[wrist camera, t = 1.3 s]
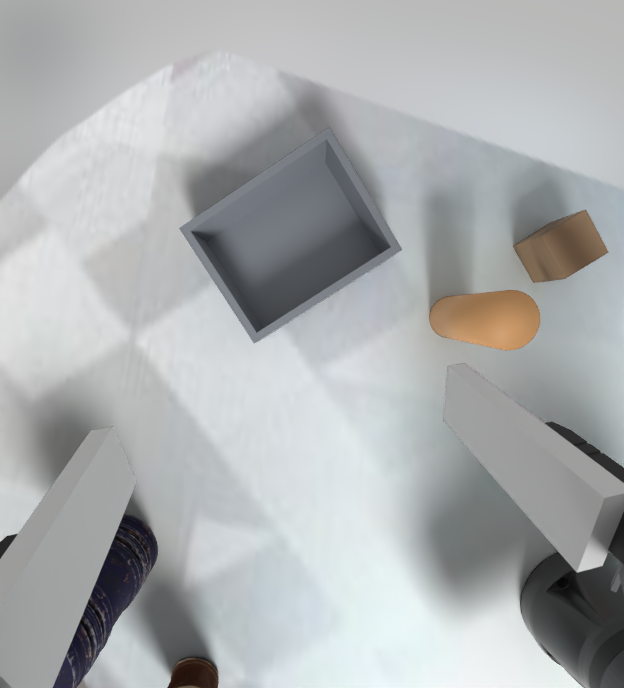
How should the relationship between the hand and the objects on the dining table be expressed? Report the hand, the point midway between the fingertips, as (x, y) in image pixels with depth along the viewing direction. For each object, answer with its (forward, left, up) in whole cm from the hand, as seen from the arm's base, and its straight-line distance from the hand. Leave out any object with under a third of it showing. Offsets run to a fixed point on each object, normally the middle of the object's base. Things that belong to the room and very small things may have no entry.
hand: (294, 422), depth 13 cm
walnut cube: (-27, -12, -27) cm, 40 cm away
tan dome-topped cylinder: (-17, -4, -27) cm, 32 cm away
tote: (+2, -11, -27) cm, 29 cm away
